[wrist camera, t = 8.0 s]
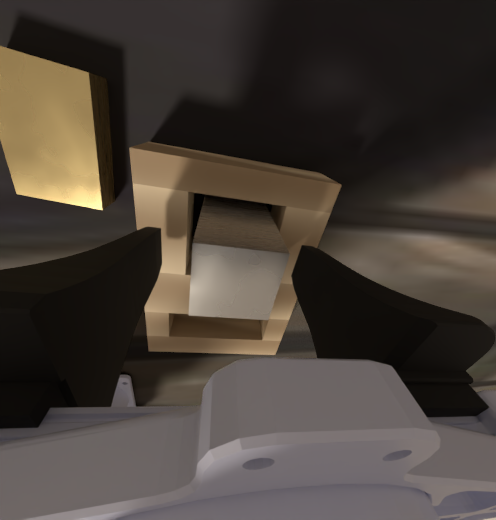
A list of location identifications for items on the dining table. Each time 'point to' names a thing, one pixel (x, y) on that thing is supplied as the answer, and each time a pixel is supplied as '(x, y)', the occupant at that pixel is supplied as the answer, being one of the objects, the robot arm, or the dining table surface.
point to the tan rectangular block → (56, 131)
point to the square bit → (235, 260)
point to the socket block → (181, 228)
